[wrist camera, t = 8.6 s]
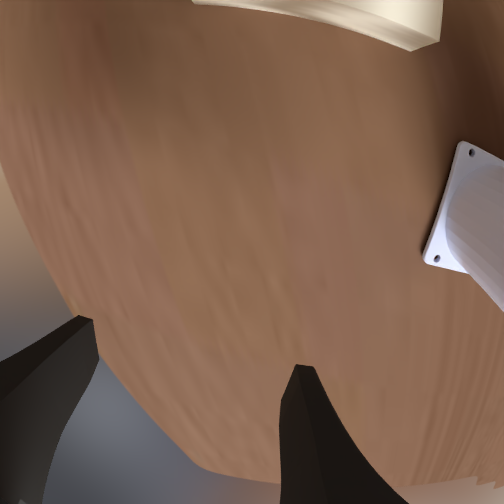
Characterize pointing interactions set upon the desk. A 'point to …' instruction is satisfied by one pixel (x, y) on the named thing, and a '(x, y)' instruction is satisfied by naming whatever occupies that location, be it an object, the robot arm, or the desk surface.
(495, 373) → the desk surface
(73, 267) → the desk surface
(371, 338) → the desk surface
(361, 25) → the birch block
